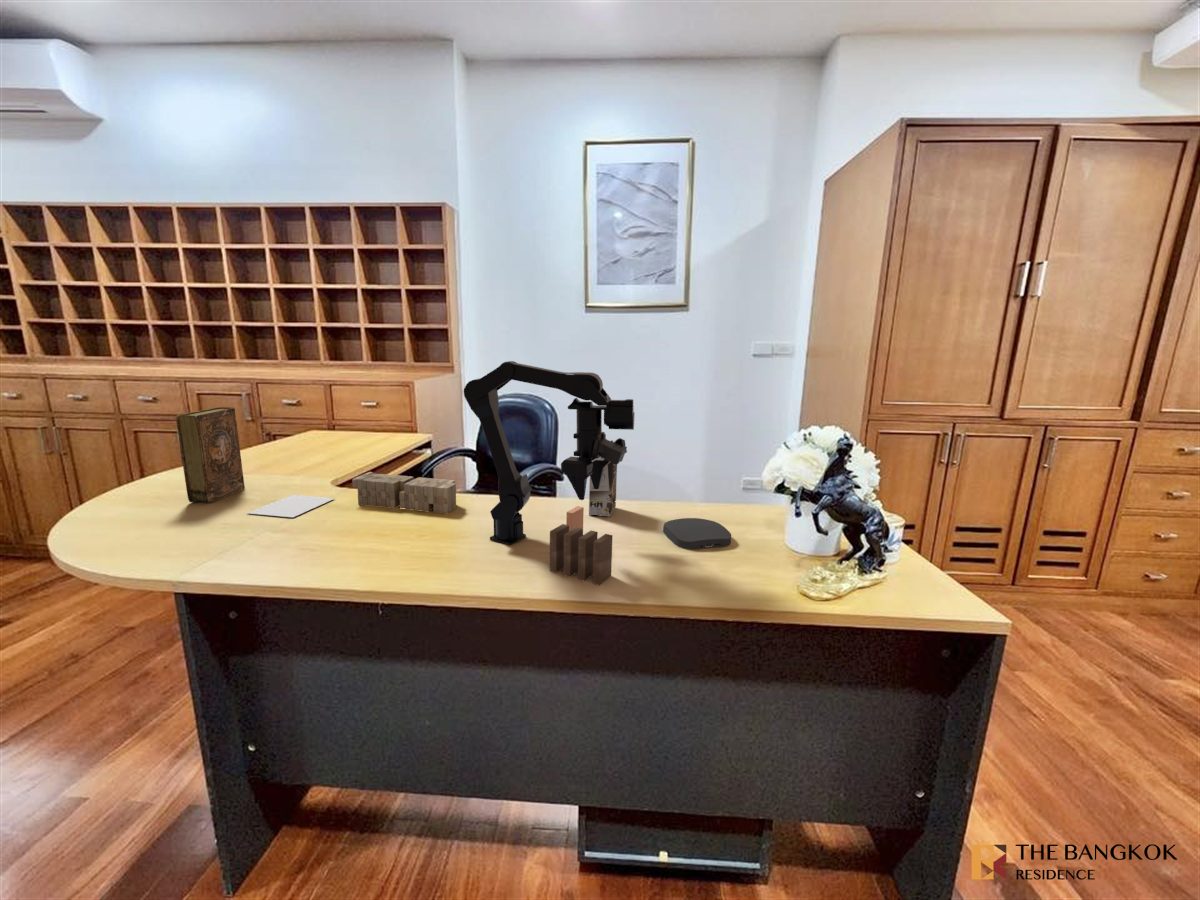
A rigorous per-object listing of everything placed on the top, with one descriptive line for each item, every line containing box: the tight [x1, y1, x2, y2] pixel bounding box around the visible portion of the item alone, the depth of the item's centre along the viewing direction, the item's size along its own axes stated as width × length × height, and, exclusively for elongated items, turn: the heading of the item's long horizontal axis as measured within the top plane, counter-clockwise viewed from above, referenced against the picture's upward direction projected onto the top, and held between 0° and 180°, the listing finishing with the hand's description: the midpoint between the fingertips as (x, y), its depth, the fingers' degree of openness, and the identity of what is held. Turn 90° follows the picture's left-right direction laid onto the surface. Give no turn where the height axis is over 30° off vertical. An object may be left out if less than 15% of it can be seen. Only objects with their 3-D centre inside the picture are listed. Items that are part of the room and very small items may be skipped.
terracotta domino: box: [565, 505, 585, 531], centre depth 123 cm, size 2×5×9 cm, turn 151°
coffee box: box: [588, 462, 618, 517], centre depth 147 cm, size 9×6×16 cm
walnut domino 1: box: [549, 523, 569, 574], centre depth 111 cm, size 2×5×9 cm, turn 151°
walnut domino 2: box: [563, 527, 584, 578], centre depth 110 cm, size 2×5×9 cm, turn 151°
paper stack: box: [247, 494, 336, 518], centre depth 141 cm, size 23×25×1 cm
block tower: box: [351, 471, 457, 514], centre depth 149 cm, size 8×8×29 cm
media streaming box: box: [662, 517, 732, 550], centre depth 131 cm, size 15×15×3 cm
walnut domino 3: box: [577, 530, 599, 582], centre depth 108 cm, size 2×5×9 cm, turn 151°
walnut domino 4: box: [592, 533, 613, 586], centre depth 106 cm, size 2×5×9 cm, turn 151°
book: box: [175, 406, 246, 504], centre depth 151 cm, size 16×6×25 cm, turn 179°
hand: (589, 494), depth 123 cm, fingers open, 9 cm apart
